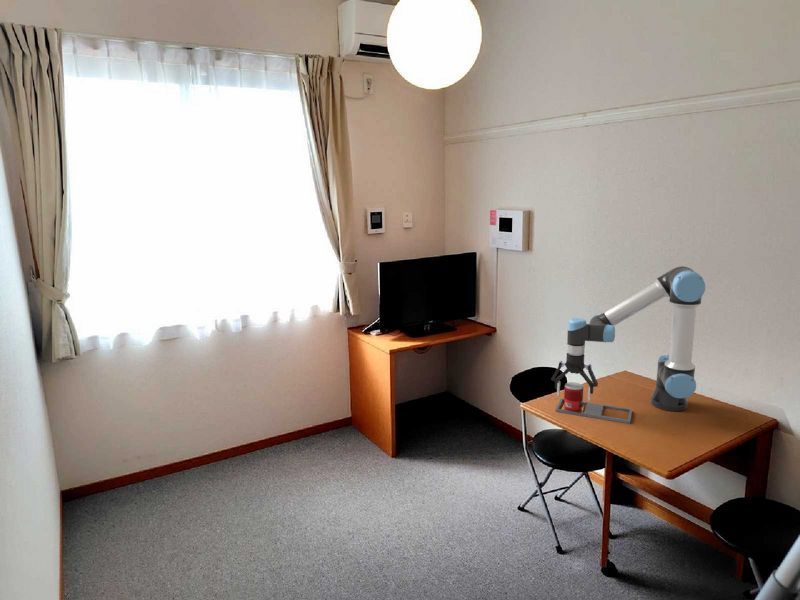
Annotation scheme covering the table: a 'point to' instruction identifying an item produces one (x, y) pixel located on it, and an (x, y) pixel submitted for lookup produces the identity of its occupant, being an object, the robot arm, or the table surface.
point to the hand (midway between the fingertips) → (573, 397)
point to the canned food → (573, 396)
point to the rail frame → (595, 411)
